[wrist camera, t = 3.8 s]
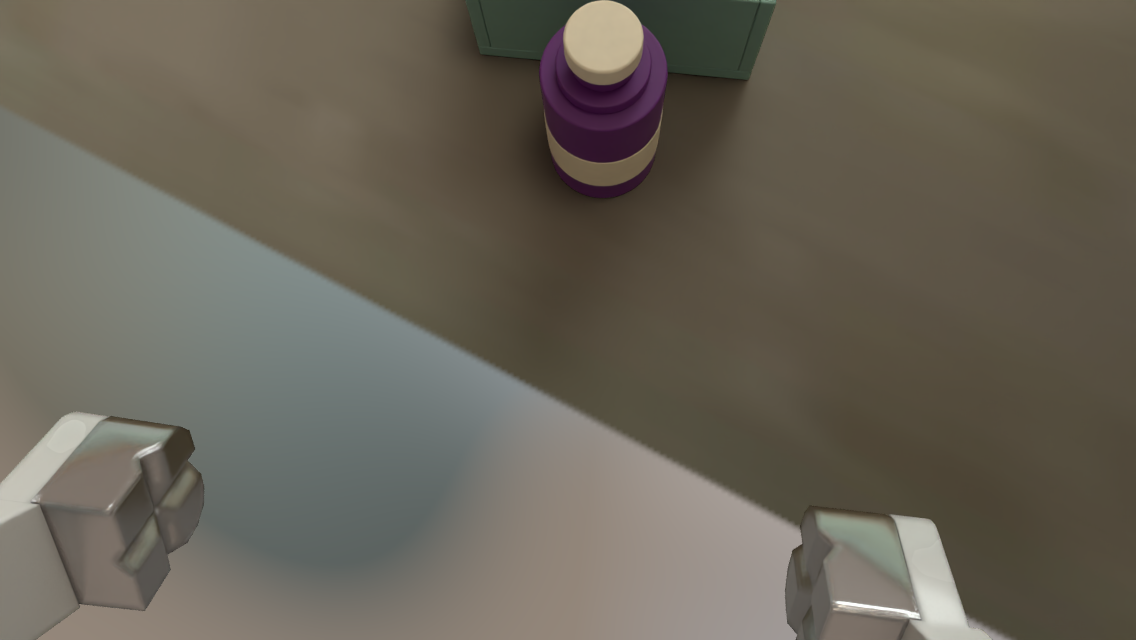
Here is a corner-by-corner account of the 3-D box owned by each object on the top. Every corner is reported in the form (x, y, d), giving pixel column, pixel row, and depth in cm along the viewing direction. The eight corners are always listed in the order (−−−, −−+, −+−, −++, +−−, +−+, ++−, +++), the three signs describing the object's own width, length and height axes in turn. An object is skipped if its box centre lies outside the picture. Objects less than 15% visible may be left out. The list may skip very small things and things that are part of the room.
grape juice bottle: (661, 104, 32) (681, -23, 24) (650, 204, 31) (666, 108, 23) (557, 94, 32) (542, -35, 24) (543, 193, 31) (523, 94, 23)
